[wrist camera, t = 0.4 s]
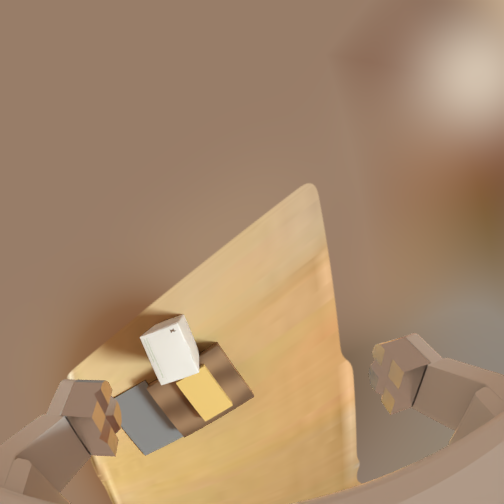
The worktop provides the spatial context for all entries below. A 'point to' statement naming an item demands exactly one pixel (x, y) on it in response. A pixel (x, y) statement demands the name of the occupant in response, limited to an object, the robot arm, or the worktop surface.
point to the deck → (180, 406)
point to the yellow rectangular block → (204, 393)
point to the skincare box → (171, 350)
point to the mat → (145, 420)
